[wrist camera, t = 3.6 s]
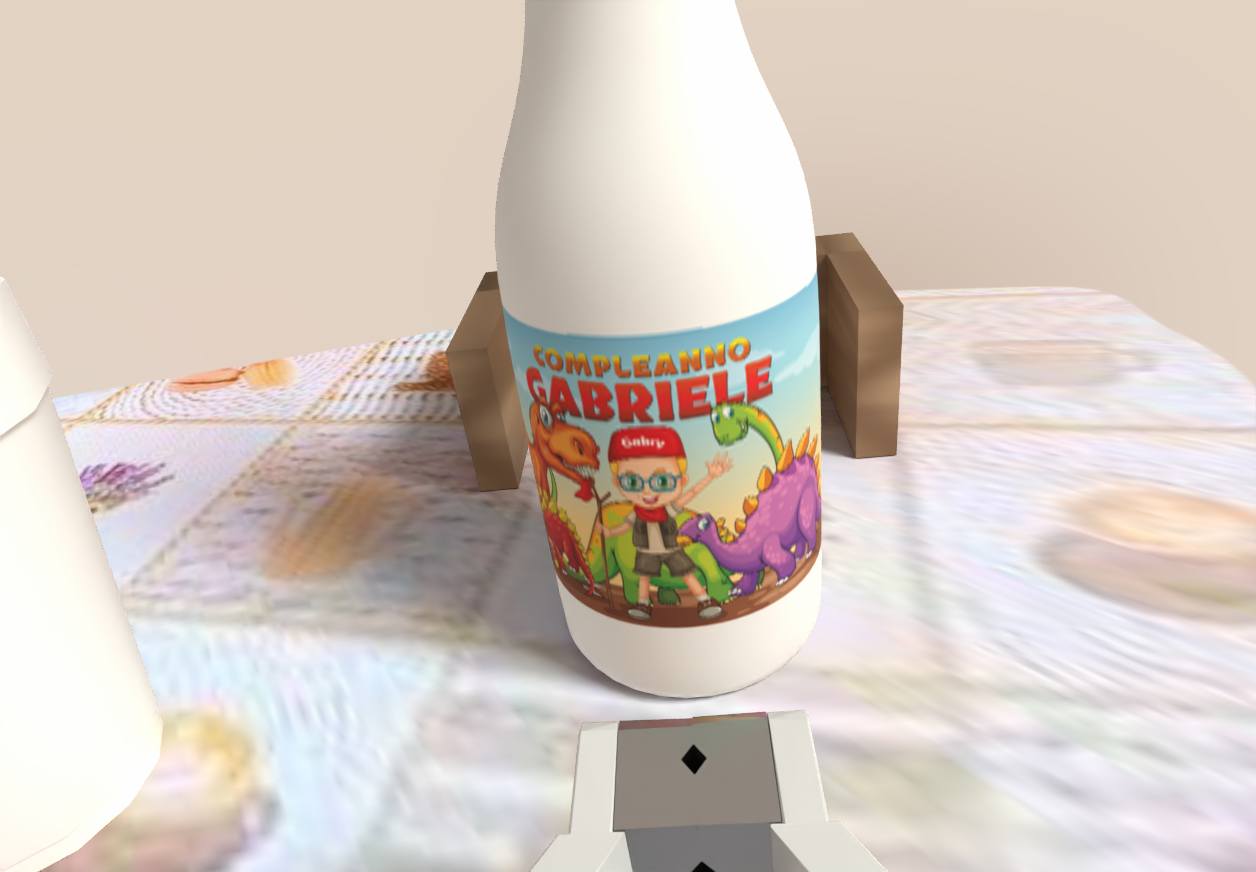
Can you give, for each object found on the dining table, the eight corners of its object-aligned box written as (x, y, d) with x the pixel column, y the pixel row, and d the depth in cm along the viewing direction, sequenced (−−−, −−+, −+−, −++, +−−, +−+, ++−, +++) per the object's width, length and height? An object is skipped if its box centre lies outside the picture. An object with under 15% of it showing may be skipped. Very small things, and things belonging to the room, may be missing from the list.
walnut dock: (480, 491, 33) (445, 352, 30) (511, 392, 40) (485, 272, 37) (896, 454, 32) (903, 305, 29) (850, 359, 39) (852, 232, 36)
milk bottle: (564, 551, 29) (425, -148, 19) (785, 517, 29) (762, -194, 19) (571, 728, 22) (361, -208, 12) (857, 684, 22) (881, -279, 12)
